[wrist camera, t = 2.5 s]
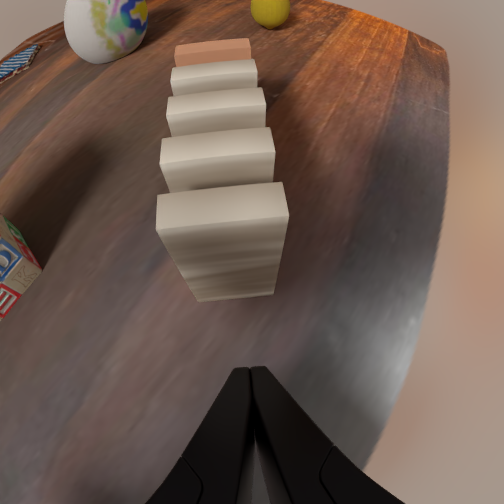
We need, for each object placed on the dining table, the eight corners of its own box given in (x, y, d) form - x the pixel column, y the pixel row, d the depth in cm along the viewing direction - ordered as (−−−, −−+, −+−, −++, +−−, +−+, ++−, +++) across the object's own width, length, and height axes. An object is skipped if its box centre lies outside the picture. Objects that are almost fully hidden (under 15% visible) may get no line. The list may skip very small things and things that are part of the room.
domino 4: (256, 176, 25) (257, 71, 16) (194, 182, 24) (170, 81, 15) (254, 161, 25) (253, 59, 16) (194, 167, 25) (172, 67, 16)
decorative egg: (136, 65, 33) (111, -31, 19) (65, 78, 34) (33, -1, 20) (164, 29, 38) (150, -50, 25) (99, 39, 39) (79, -30, 25)
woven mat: (-10, 93, 37) (-14, 86, 35) (5, 68, 41) (2, 61, 39) (29, 70, 38) (25, 62, 36) (42, 48, 42) (39, 41, 41)
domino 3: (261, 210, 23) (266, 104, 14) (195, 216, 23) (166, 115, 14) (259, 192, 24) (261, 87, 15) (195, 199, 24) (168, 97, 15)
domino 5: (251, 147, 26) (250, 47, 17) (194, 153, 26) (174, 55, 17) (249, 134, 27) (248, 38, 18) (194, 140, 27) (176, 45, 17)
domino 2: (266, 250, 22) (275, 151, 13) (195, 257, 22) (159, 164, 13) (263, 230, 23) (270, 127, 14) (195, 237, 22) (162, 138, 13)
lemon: (243, 28, 37) (242, -17, 30) (269, 20, 39) (271, -22, 31) (269, 39, 35) (270, -10, 28) (296, 30, 37) (299, -15, 30)
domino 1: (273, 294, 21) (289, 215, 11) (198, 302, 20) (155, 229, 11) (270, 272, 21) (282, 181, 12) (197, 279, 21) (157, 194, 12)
